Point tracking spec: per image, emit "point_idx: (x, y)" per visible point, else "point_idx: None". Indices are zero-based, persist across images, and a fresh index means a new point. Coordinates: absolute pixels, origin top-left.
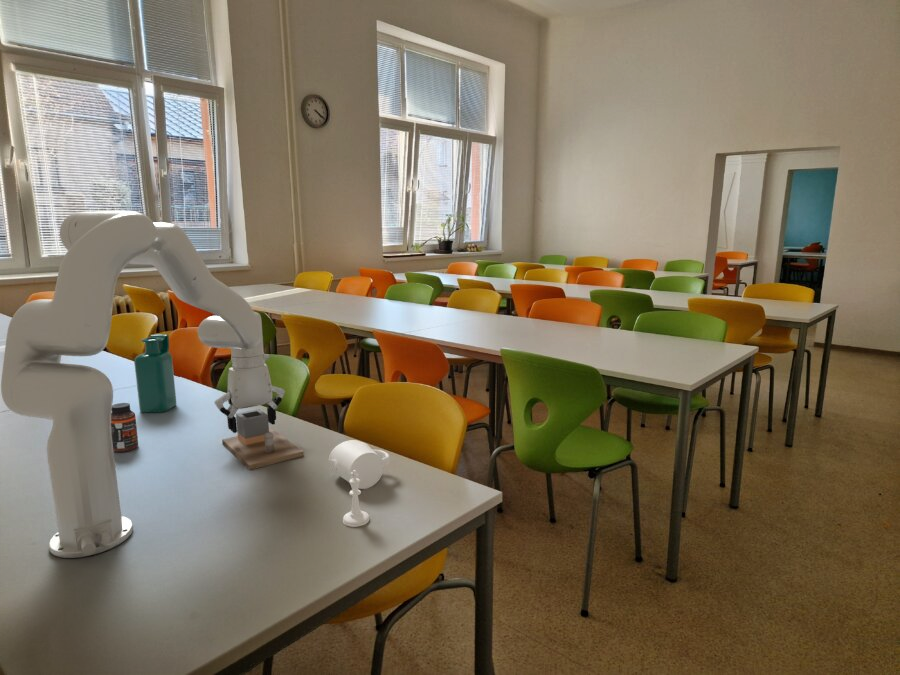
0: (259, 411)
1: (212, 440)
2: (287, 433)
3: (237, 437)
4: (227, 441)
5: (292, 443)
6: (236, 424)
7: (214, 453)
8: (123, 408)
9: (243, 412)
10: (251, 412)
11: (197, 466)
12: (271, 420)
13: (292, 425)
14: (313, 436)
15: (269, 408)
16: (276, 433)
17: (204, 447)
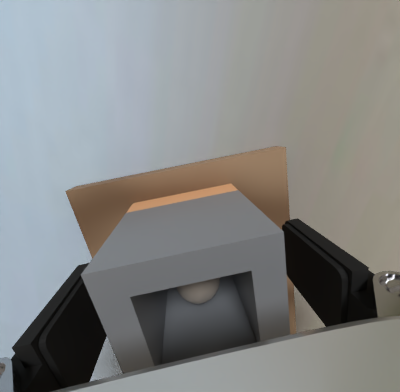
0: (267, 287)
1: (27, 120)
2: (320, 181)
3: (131, 195)
4: (90, 224)
5: (295, 321)
6: (100, 350)
7: (53, 265)
8: None
9: (146, 266)
10: (208, 278)
11: (12, 340)
12: (295, 280)
13: (373, 92)
14: (374, 246)
15: (349, 303)
16: (281, 217)
17: (4, 192)
